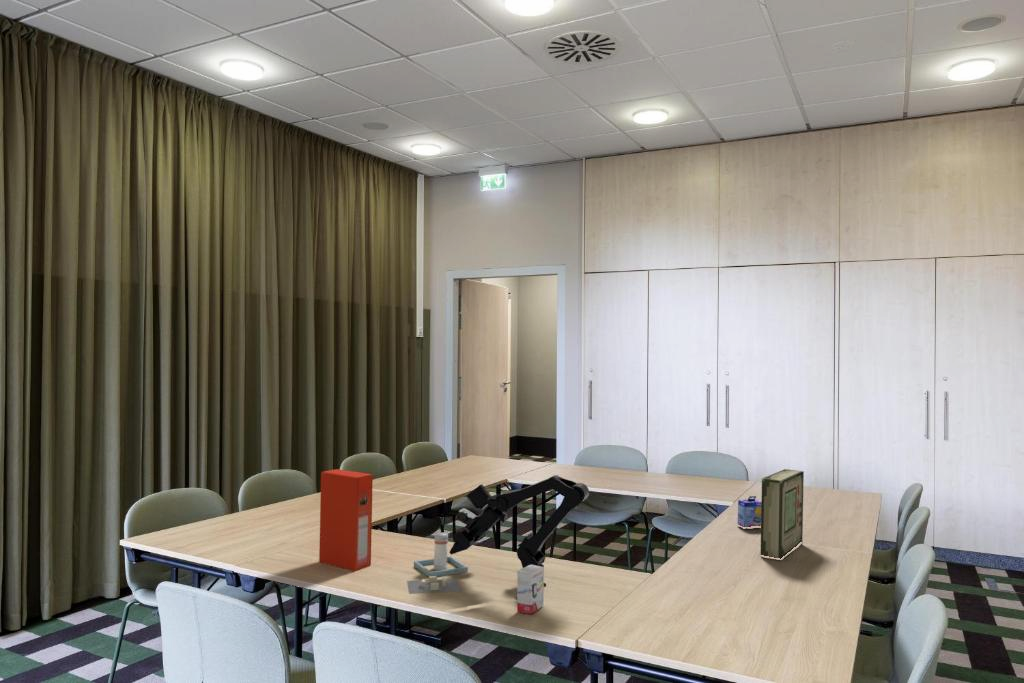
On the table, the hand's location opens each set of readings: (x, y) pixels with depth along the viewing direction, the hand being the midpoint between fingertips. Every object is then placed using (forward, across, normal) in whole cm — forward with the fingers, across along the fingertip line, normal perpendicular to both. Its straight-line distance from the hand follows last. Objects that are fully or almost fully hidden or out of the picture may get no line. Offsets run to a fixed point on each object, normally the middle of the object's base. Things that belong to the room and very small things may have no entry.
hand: (455, 549), depth 236 cm
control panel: (-70, -75, +83) cm, 132 cm away
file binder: (+34, +5, -23) cm, 41 cm away
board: (+6, +17, +6) cm, 19 cm away
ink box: (-17, +21, +30) cm, 40 cm away
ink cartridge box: (-62, -109, +75) cm, 146 cm away
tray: (+10, 0, +2) cm, 10 cm away
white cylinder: (+9, 0, +1) cm, 9 cm away
